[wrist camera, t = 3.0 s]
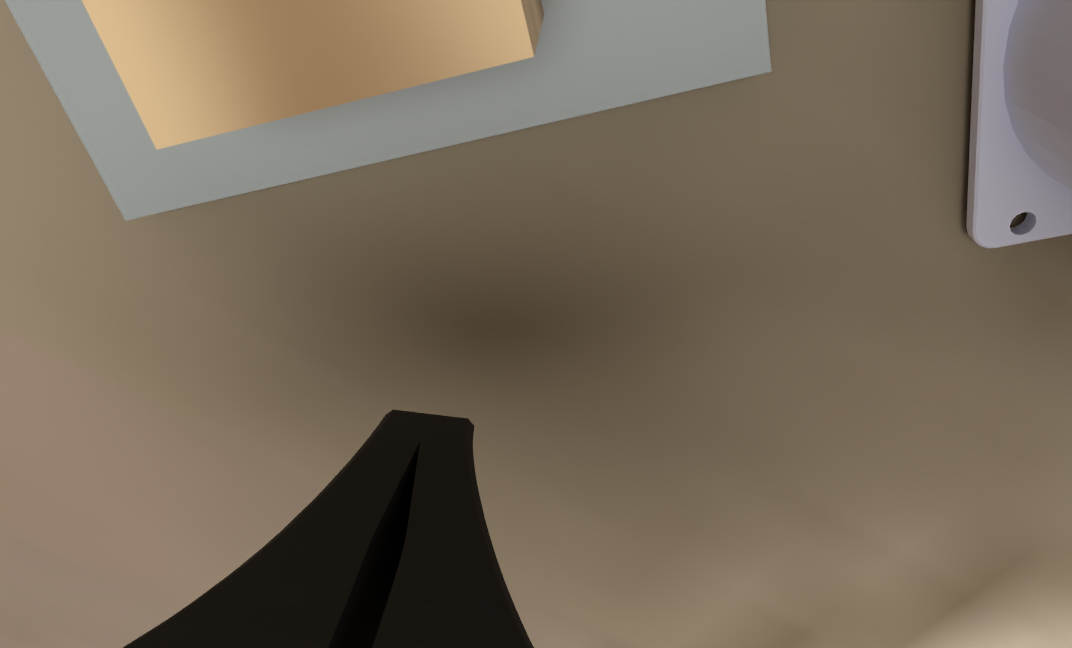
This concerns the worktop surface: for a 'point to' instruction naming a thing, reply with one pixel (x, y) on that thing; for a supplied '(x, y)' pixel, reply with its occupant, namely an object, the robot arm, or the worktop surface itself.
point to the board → (396, 96)
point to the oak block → (295, 54)
